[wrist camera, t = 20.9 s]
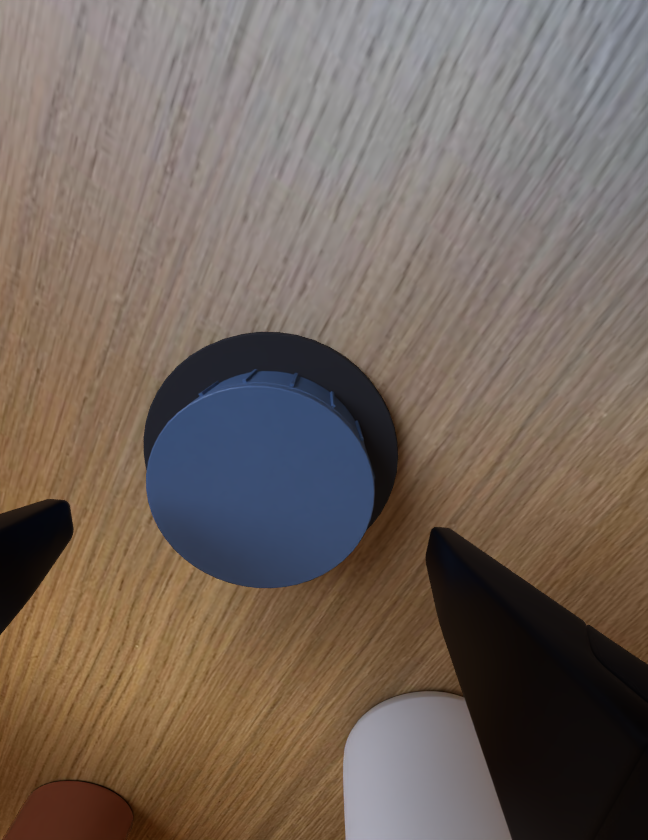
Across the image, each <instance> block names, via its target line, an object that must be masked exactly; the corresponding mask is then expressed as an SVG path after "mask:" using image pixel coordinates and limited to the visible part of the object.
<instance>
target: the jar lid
mask: <svg viewBox="0 0 648 840" xmlns="http://www.w3.org/2000/svg"><path fill="white" fill-rule="evenodd" d="M199 396H200V397H198V398H197V399H195V400H194V401H193V402H191V403H190V404H188V405H187V406H186V407H185V408H183V409H182V410H181V411H179V412H178V413H177V414H176V415H175V416H174V417H173V418H172V419H171V420H169V421H168V423H167V424H166V426H165V427H164V429H163V430H162V431H161V433H160V434H159V436H158V438H157V440H156V442H155V444H154V446H153V448H152V451H151V454H150V457H149V461H148V467H147V473H146V490H147V496H148V502H149V506H150V509H151V512H152V515H153V517H154V520H155V522H156V524H157V526H158V528H159V529H160V531H161V533H162V534H163V536H164V537H165V539H166V540H167V541H168V542H169V544H170V545H171V546H172V547H173V549H174V550H176V551H177V552H178V553H179V554H180V555H181V556H182V557H183V558H184V559H185V560H187V561H188V562H189V563H191V564H192V565H193V566H195V567H196V568H198V569H200V570H201V571H203V572H205V573H206V574H209V575H211V576H213V577H215V578H217V579H220V580H223V581H226V582H229V583H232V584H236V585H241V586H246V587H254V588H278V587H287V586H292V585H297V584H300V583H303V582H307V581H310V580H312V579H314V578H317V577H319V576H321V575H323V574H325V573H326V572H328V571H330V570H331V569H333V568H334V567H336V566H337V565H338V564H340V563H341V562H342V561H343V560H344V559H345V558H346V557H347V556H348V555H349V554H350V553H351V552H352V551H353V550H354V549H355V547H356V546H357V545H358V543H359V542H360V540H361V539H362V537H363V535H364V533H365V532H366V530H367V527H368V525H369V522H370V519H371V516H372V512H373V507H374V498H375V486H374V479H375V475H374V472H373V469H372V465H371V462H370V459H369V456H368V454H367V451H366V448H365V444H364V441H363V440H364V438H363V435H362V432H361V428H360V425H359V422H358V420H356V421H355V420H354V418H353V416H352V415H351V414H350V412H349V411H348V410H347V408H346V407H345V406H344V405H343V404H342V403H341V402H340V401H339V400H338V399H337V398H336V397H335V396H334V392H333V391H331V392H329V391H328V390H326V389H325V388H323V387H321V386H320V385H318V384H316V383H315V382H312V381H310V380H308V379H305V378H303V377H300V376H298V373H295V374H294V375H293V374H290V373H283V372H277V371H259V372H257V369H255V370H253V371H252V372H250V373H245V374H241V375H237V376H234V377H232V378H229V379H227V380H224V381H223V382H221V383H219V382H218V381H217V382H215V383H214V384H212V385H211V386H210V387H208V388H207V389H205V390H204V391H202V392H201V393H199Z"/></svg>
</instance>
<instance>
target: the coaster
mask: <svg viewBox="0 0 648 840" xmlns="http://www.w3.org/2000/svg"><path fill="white" fill-rule="evenodd" d="M255 369H257V372H259V371H277V372H283V373H290V374H293V375H294V374H295V373H298V376H300V377H303V378H305V379H308V380H310V381H312V382H315V383H316V384H318V385H320V386H321V387H323V388H325V389H326V390H328V391H329V392H331V391H333V392H334V396H335V397H336V398H337V399H338V400H339V401H340V402H341V403H342V404H343V405H344V406H345V407H346V408H347V410H348V411H349V412H350V414H351V415H352V416H353V418H354V420H355V421H356V420H358V422H359V425H360V428H361V432H362V435H363V438H364V440H363V441H364V444H365V448H366V451H367V454H368V456H369V459H370V462H371V465H372V469H373V472H374V475H375V479H374V486H375V498H374V507H373V512H372V516H371V519H370V522H369V525H368V527H367V529H368V528H369V527H370V526H371V525H372V524H373V523H374V521H375V520H376V519H377V517H378V516H379V515H380V513H381V511H382V510H383V508H384V506H385V504H386V503H387V501H388V498H389V496H390V493H391V491H392V488H393V485H394V481H395V477H396V473H397V462H398V447H397V438H396V433H395V428H394V424H393V422H392V419H391V416H390V413H389V410H388V408H387V406H386V405H385V403H384V401H383V399H382V397H381V395H380V394H379V392H378V391H377V389H376V388H375V387H374V385H373V384H372V382H371V381H370V380H369V378H368V377H367V376H366V375H365V374H364V373H363V372H362V371H361V370H360V369H359V368H358V367H357V366H356V365H355V364H353V363H352V362H351V361H350V360H349V359H347V358H346V357H345V356H343V355H342V354H340V353H338V352H337V351H335V350H334V349H332V348H330V347H328V346H326V345H324V344H321V343H319V342H317V341H315V340H312V339H308V338H305V337H302V336H298V335H293V334H287V333H280V332H256V333H247V334H241V335H237V336H233V337H230V338H226V339H223V340H220V341H218V342H215V343H213V344H210V345H208V346H206V347H204V348H202V349H201V350H199V351H197V352H196V353H194V354H192V355H191V356H189V357H188V358H187V359H186V360H185V361H183V362H182V363H181V364H180V365H178V366H177V367H176V368H175V370H174V371H173V372H172V373H171V374H170V375H169V376H168V377H167V378H166V380H165V381H164V383H163V384H162V386H161V387H160V389H159V390H158V392H157V394H156V396H155V398H154V400H153V402H152V404H151V406H150V410H149V413H148V416H147V420H146V425H145V432H144V458H145V464H146V470H147V467H148V461H149V457H150V454H151V451H152V448H153V446H154V444H155V442H156V440H157V438H158V436H159V434H160V433H161V431H162V430H163V429H164V427H165V426H166V424H167V423H168V421H169V420H171V419H172V418H173V417H174V416H175V415H176V414H177V413H178V412H179V411H181V410H182V409H183V408H185V407H186V406H187V405H188V404H190V403H191V402H193V401H194V400H195V399H197V398H198V397H200V396H199V393H201V392H202V391H204V390H205V389H207V388H208V387H210V386H211V385H212V384H214V383H215V382H217V381H218V382H219V383H221V382H223V381H224V380H227V379H229V378H232V377H234V376H237V375H241V374H245V373H250V372H252V371H253V370H255Z"/></svg>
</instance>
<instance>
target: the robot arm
mask: <svg viewBox="0 0 648 840" xmlns="http://www.w3.org/2000/svg"><path fill="white" fill-rule="evenodd" d="M72 535H73V522H72V516H71V510H70V505H69V503H68V502H67V501H65V500H56V499H47V500H43V501H40V502H37V503H34V504H30V505H27V506H24V507H21V508H18V509H14V510H11V511H8V512H5V513H2V514H0V635H1V633H2V632H3V631H4V630H5V629H6V627H7V626H8V625H9V624H10V623H11V621H12V620H13V619H14V618H15V616H16V615H17V614H18V613H19V612H20V610H21V609H22V608H23V607H24V605H25V604H26V603H27V602H28V600H29V599H30V598H31V596H32V595H33V594H34V592H35V591H36V589H37V588H38V587H39V585H40V584H41V582H42V581H43V579H44V578H45V576H46V575H47V573H48V572H49V571H50V569H51V568H52V566H53V565H54V563H55V562H56V560H57V559H58V557H59V556H60V554H61V553H62V552H63V550H64V549H65V547H66V546H67V544H68V543H69V541H70V540H71V538H72ZM426 566H427V571H428V575H429V580H430V584H431V589H432V593H433V598H434V602H435V607H436V611H437V615H438V619H439V623H440V627H441V630H442V633H443V636H444V639H445V642H446V645H447V648H448V651H449V654H450V657H451V660H452V663H453V666H454V669H455V672H456V675H457V678H458V681H459V684H460V687H461V690H462V693H463V696H464V699H465V702H466V705H467V707H468V710H469V713H470V716H471V719H472V722H473V725H474V728H475V731H476V734H477V737H478V740H479V743H480V746H481V749H482V752H483V755H484V758H485V761H486V764H487V767H488V770H489V773H490V776H491V779H492V782H493V785H494V788H495V791H496V794H497V797H498V800H499V803H500V806H501V809H502V812H503V815H504V818H505V821H506V823H507V826H508V829H509V832H510V835H511V838H512V840H648V664H646V663H645V662H643V661H642V660H640V659H639V658H637V657H636V656H634V655H633V654H631V653H630V652H628V651H627V650H625V649H624V648H622V647H621V646H619V645H618V644H616V643H615V642H613V641H612V640H610V639H609V638H607V637H606V636H605V635H603V634H602V633H600V632H599V631H597V630H596V629H595V628H593V627H592V626H590V625H586V623H585V622H584V621H583V620H581V619H580V618H579V617H577V616H576V615H574V614H573V613H571V612H570V611H568V610H567V609H566V608H564V607H563V606H561V605H560V604H558V603H557V602H555V601H554V600H552V599H551V598H550V597H548V596H547V595H545V594H544V593H542V592H541V591H539V590H538V589H537V588H535V587H534V586H532V585H531V584H529V583H528V582H526V581H525V580H524V579H522V578H521V577H519V576H518V575H516V574H515V573H513V572H512V571H511V570H509V569H508V568H506V567H505V566H503V565H502V564H500V563H499V562H498V561H496V560H495V559H493V558H492V557H490V556H489V555H487V554H486V553H485V552H483V551H482V550H480V549H479V548H477V547H476V546H474V545H473V544H472V543H470V542H469V541H467V540H466V539H464V538H463V537H461V536H460V535H459V534H457V533H456V532H454V531H453V530H451V529H450V528H443V527H434V528H432V530H431V533H430V537H429V542H428V546H427V551H426Z"/></svg>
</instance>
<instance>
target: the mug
mask: <svg viewBox="0 0 648 840" xmlns="http://www.w3.org/2000/svg"><path fill="white" fill-rule="evenodd" d="M343 788H344V812H345V835H346V840H512V838H511V835H510V832H509V829H508V826H507V823H506V821H505V818H504V815H503V812H502V809H501V806H500V803H499V800H498V797H497V794H496V791H495V788H494V785H493V782H492V779H491V776H490V773H489V770H488V767H487V764H486V761H485V758H484V755H483V752H482V749H481V746H480V743H479V740H478V737H477V734H476V731H475V728H474V725H473V722H472V719H471V716H470V713H469V710H468V707H467V705H466V702H465V699H464V697H462V696H458V695H455V694H451V693H446V692H438V691H421V692H412V693H406V694H402V695H399V696H395V697H393V698H390V699H387V700H385V701H383V702H381V703H379V704H377V705H376V706H374V707H373V708H371V709H370V710H369V711H368V712H366V713H365V714H364V715H363V716H362V717H361V718H360V719H359V720H358V722H357V723H356V724H355V726H354V727H353V729H352V730H351V732H350V734H349V736H348V739H347V742H346V745H345V749H344V762H343Z"/></svg>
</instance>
